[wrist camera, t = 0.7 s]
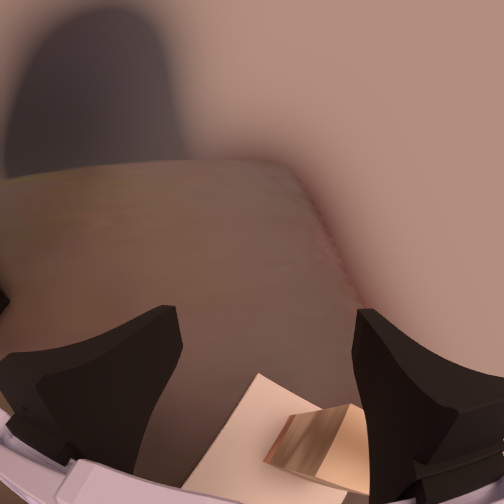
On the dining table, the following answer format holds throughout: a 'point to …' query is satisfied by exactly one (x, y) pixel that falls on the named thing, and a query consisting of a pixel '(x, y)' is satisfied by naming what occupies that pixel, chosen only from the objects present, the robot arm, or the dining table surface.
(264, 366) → the dining table surface
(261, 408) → the beige mat
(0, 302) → the green elephant figurine
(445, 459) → the robot arm
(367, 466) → the birch block
